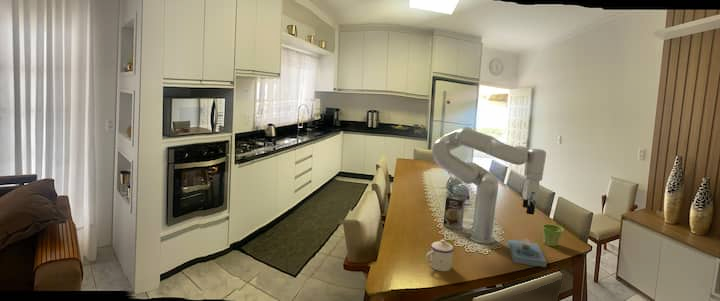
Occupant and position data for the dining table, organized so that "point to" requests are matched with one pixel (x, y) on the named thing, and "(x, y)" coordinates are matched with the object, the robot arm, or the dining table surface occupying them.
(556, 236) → the plant pot
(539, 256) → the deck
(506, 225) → the dining table surface
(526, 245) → the ball
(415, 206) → the dining table surface
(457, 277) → the dining table surface
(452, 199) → the coffee box
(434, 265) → the teacup with lid
